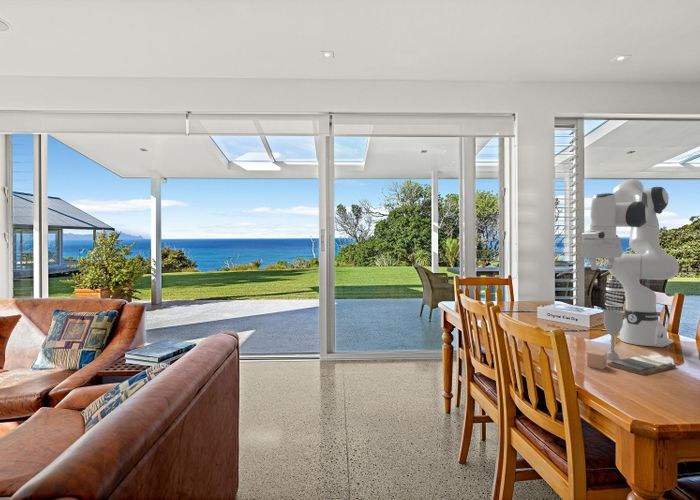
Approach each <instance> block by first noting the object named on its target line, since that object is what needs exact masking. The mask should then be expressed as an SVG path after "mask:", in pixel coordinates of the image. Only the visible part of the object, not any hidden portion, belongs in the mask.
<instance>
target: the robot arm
mask: <svg viewBox="0 0 700 500" xmlns="http://www.w3.org/2000/svg"><path fill="white" fill-rule="evenodd" d="M591 200H592V201H591V204H590V206H591V207H590V220H591V222H590V226H589V229H588V230H587V231H584V232H582V233H581V239H582V242H581V257H583V258H584V259H588V262H589V264H590V269H591V270H592V271H596V270H598V267H599V266H598V264H597V259H607V263H606V265H605V269H606V270H607V271H608V273H610V275H611V276H612V277H614V279H618V280H619V282H620V283H621V284H622V286H623V288H624V292H625V294H624V295H625V297H624V299H625V309H624V308H623V311H624V312H625V313H624V314H623V315H624V317H623V318H624V320H623V326H622V328H621V330H620V331H619V334H618V335H616V338H617V339H619V340H620V341H621V342H622V343H627V344H631V345H637V346H646V347H658V348H663V347H664V348H665V347H667V346H668V345H669V346H670V344H673V343H674V339H671V338H668V332H667V328H666V326H664V325H663V324H662V323H661V322H660V321H659V317H661V316H662V312H661V311H657V295H656V292H655V291H654V290H652V289H650V288H649V287H647V286H645V285H642V284H641V283H640V280H655V281H656V280H657V281H662V280H672V279H674V278H675V277H676V276H677V275H678V274H679V271H680V265H679V262H678V261H677V258H676V257H674V256H673V255H670V254H668V253H667V252H665V251H664V250H663V249H662V247H661V245H660V222H659V219H658V217H657V214H658V215H660V214H662V213H663V211H664V210H665V209H666V207H667V206H668V204H669V200H670V198H669V194H668V192H667V190H666V189H665V188H664V187H662V186H652V187H651V188H644V185H643V183H642V182H641V181H640V180H639V179H636V178H635V179H634V178H631V179H626V180H623V181H622V182H620V183H619V184H617V185H616V186H615V187H614V188H613V190H612V191H611V193H610V192H608V193H598V194H594V195H593V196H592V199H591ZM617 227H619V228H620V227H622V228H623V227H624V228H626V227H630V232H629V233H630V234H629V242H628V246H629V248H630V249H631V250H632V251H633V253H623V247H622V241H621V239H620V237H619V236H618V235H617Z"/></svg>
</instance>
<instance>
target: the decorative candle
mask: <svg viewBox="0 0 700 500" xmlns="http://www.w3.org/2000/svg"><path fill="white" fill-rule="evenodd" d="M605 282H606V287H605V290H604V293H605V294H604V299H605V300H604V305H605V310H619V311H624V306H625V302H624V301H626V299H625V291H624V288H623V286H622V284H621V283H620V282H619V280H618V279H617V278H609V279H607V281H605ZM624 319H625V317H624V314H623V320H624Z"/></svg>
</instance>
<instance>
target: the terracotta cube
mask: <svg viewBox="0 0 700 500" xmlns="http://www.w3.org/2000/svg"><path fill="white" fill-rule="evenodd" d="M586 357H587V359H586V360H587V361H586V367H589V368H594V369H599V370H604V369H605V368H606V367H607V366H608V365H607V363H608V360H607V352H605V351H599V350H594V349H593V350H592V349H591V350H590V351H588V352H587V356H586Z"/></svg>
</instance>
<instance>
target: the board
mask: <svg viewBox="0 0 700 500" xmlns="http://www.w3.org/2000/svg"><path fill="white" fill-rule="evenodd" d="M607 366H608V367H613V368H615V369H618V370H622V371H623V370H624V371H627V372H630V373H634V374H638V375H641V376H646V375H649V374H654V373H657V372H662V371H667V370H671V369H674V368H676V364H675V363H673V362H671V361H667V360H664V359H658V358H655V357H651V356H648V355H647V356H646V355H637V356H632V357H628V358H622V359H620V360H612V361H607Z"/></svg>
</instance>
